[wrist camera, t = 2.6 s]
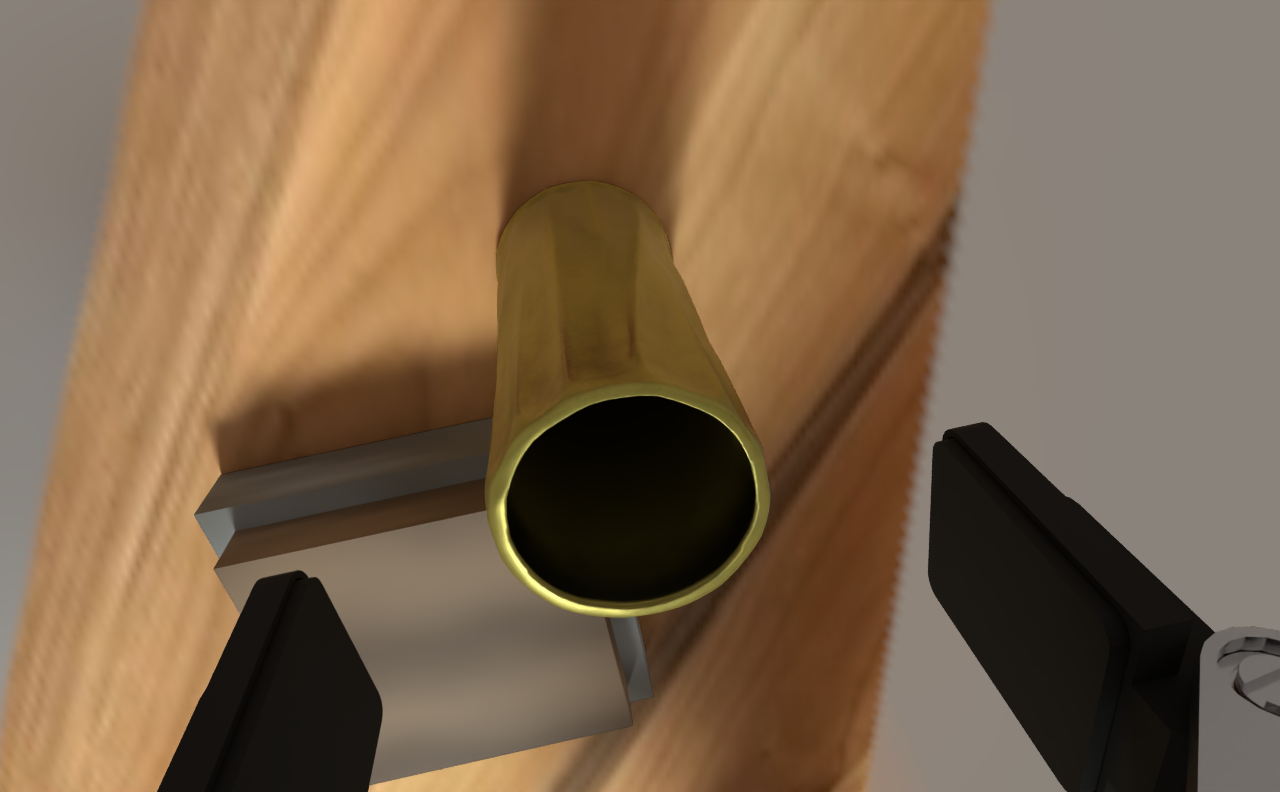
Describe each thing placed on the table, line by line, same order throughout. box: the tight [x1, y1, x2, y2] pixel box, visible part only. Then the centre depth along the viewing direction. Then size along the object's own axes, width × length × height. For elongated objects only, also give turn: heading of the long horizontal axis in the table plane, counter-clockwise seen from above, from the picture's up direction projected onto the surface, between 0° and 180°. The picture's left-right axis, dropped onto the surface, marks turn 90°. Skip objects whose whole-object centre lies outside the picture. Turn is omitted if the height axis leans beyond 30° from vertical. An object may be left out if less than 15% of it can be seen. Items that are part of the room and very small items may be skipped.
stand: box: [194, 417, 654, 785], centre depth 29 cm, size 14×14×4 cm
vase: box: [485, 181, 770, 618], centre depth 20 cm, size 6×6×14 cm
